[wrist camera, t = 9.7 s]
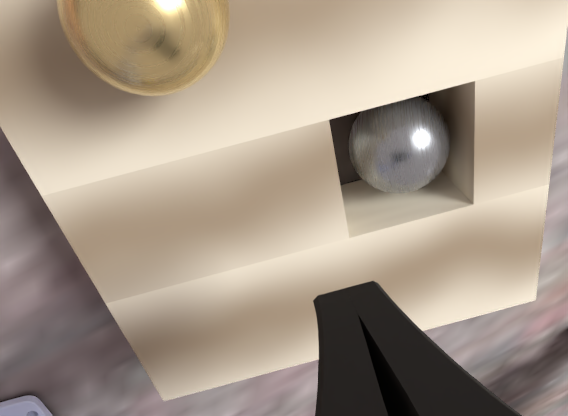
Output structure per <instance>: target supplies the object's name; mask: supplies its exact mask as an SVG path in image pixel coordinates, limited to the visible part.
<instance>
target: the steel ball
mask: <svg viewBox="0 0 568 416" xmlns="http://www.w3.org/2000/svg"><path fill="white" fill-rule="evenodd" d="M348 146H349V155H350V159H351V162H352V164H353V166H354V169H355V170H356V172H357V173H358V175H359V176H360V177H361V178H362V179H363V180H364V181H365V182H366V183H368V184H369V185H371V186H372V187H374V188H376V189H378V190H381V191H384V192H389V193H407V192H412V191H415V190H418V189H420V188H422V187H424V186H425V185H427V184H428V183H430V182H431V181H432V180H433V179H435V177H436V176H437V175H438V174H439V173H440V171H441V170H442V169H443V167H444V165H445V163H446V161H447V158H448V155H449V150H450V134H449V129H448V126H447V123H446V121H445V119H444V117H443V116H442V114H441V113H440V112H439V110H438V109H437V108H436V107H435V106H433V105H432V104H431V103H430V102H428V101H426V100H425V99H423V98H420V97H418V96H416V97H413V98H409V99H405V100H401V101H398V102H394V103H390V104H386V105H382V106H379V107H375V108H371V109H367V110H364V111H361V113H360V114H359V115H358V117H357V118H356V120H355V122H354V124H353V126H352V128H351V132H350V135H349V143H348Z"/></svg>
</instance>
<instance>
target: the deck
mask: <svg viewBox="0 0 568 416" xmlns="http://www.w3.org/2000/svg"><path fill="white" fill-rule="evenodd" d="M228 1H229V11H230V19H229V30H228V36H227V40H226V43H225V46H224V49H223V51H222V53H221V55H220V57H219V59H218V61H217V62H216V64H215V65H214V66H213V68H212V69H211V70H210V71H209V72H208V73H207V74H206V75H205V76H204V77H203V78H202V79H201V80H200V81H198V82H197V83H195V84H194V85H192V86H191V87H189V88H187V89H185V90H183V91H180V92H177V93H174V94H169V95H164V96H142V95H137V94H132V93H128V92H125V91H122V90H120V89H117V88H115V87H113V86H111V85H109V84H108V83H106V82H104V81H103V80H101V79H100V78H99V77H97V76H96V75H95V74H93V73H92V72H91V71H90V70H89V69H88V68H87V67H86V66H85V65H84V64H83V63H82V61H81V60H80V59H79V58H78V57H77V55H76V54H75V52H74V51H73V49H72V48H71V46H70V44H69V42H68V40H67V38H66V37H65V34H64V31H63V29H62V26H61V23H60V19H59V15H58V8H57V0H0V127H1V129H2V131H3V132H4V134H5V136H6V137H7V139H8V141H9V142H10V144H11V146H12V147H13V149H14V151H15V152H16V154H17V156H18V158H19V159H20V161H21V163H22V164H23V166H24V168H25V169H26V171H27V173H28V174H29V176H30V178H31V179H32V181H33V183H34V184H35V186H36V188H37V189H38V191H39V193H40V194H41V196H42V198H43V200H44V201H45V203H46V205H47V206H48V208H49V210H50V211H51V213H52V215H53V216H54V218H55V220H56V221H57V223H58V225H59V226H60V228H61V230H62V231H63V233H64V235H65V236H66V238H67V240H68V242H69V243H70V245H71V247H72V248H73V250H74V252H75V253H76V255H77V257H78V258H79V260H80V262H81V263H82V265H83V267H84V268H85V270H86V272H87V273H88V275H89V277H90V278H91V280H92V282H93V284H94V285H95V287H96V289H97V290H98V292H99V294H100V295H101V297H102V299H103V300H104V302H105V304H106V305H107V307H108V309H109V310H110V312H111V314H112V315H113V317H114V319H115V320H116V322H117V324H118V325H119V327H120V329H121V331H122V332H123V334H124V336H125V337H126V339H127V341H128V342H129V344H130V346H131V347H132V349H133V351H134V352H135V354H136V356H137V357H138V359H139V361H140V362H141V364H142V366H143V367H144V369H145V371H146V373H147V374H148V376H149V378H150V379H151V381H152V383H153V384H154V386H155V388H156V389H157V391H158V393H159V394H160V396H161V398H162V399H163V401H167V400H171V399H175V398H178V397H182V396H186V395H189V394H193V393H197V392H200V391H204V390H208V389H211V388H215V387H219V386H222V385H226V384H230V383H233V382H237V381H241V380H244V379H248V378H252V377H255V376H259V375H263V374H266V373H270V372H274V371H277V370H281V369H285V368H288V367H292V366H296V365H299V364H303V363H307V362H311V361H314V360H318V359H319V341H318V324H317V317H316V311H315V307H314V303H313V300H314V299H315V298H316V297H317V296H318V295H321V294H325V293H329V292H333V291H336V290H340V289H344V288H347V287H351V286H355V285H359V284H362V283H366V282H370V281H375V282H377V283H379V285H380V286H381V287H382V288H383V290H384V291H385V292H386V293H387V294H388V295H389V297H390V298H391V299H392V300H393V301H394V302H395V303H396V305H397V306H398V307H399V308H400V309H401V310H402V311H403V312H404V313H405V314H406V315H407V316H408V317H409V318H410V319H411V320H412V321H413V322H414V323H415V324H416V325H417V326H418V327H419V328H420V329H421V330H422V331H424V330H428V329H432V328H435V327H439V326H443V325H446V324H450V323H454V322H457V321H461V320H465V319H469V318H472V317H476V316H480V315H483V314H487V313H491V312H494V311H498V310H502V309H505V308H509V307H513V306H516V305H520V304H524V303H527V302H531V301H535V300H536V292H537V284H538V275H539V266H540V258H541V249H542V241H543V232H544V223H545V215H546V206H547V198H548V189H549V180H550V172H551V163H552V155H553V146H554V138H555V129H556V120H557V112H558V103H559V95H560V86H561V77H562V69H563V60H564V52H565V43H566V34H567V26H568V0H228ZM428 93H429V102H430V103H431V104H432V105H433V106H435V107H436V108H437V109H438V110H439V112H440V113H441V114H442V116H443V117H444V119H445V121H446V123H447V126H448V129H449V134H450V150H449V155H448V158H447V161H446V163H445V165H444V167H443V169H442V170H441V171H440V173H439V174H438V175H437V176H436V177H435V179H433V180H432V181H431V182H430V183H428V184H427V185H425V186H424V187H422V188H420V189H418V190H415V191H412V192H407V193H389V192H384V191H381V190H378V189H376V188H374V187H372V186H371V185H369V184H368V183H366V182H365V181H364V180H363V179H362V180H359V181H355V182H351V183H347V184H344V185H340V180H339V175H338V169H337V163H336V157H335V151H334V146H333V140H332V134H331V128H330V122H329V120H330V119H333V118H337V117H341V116H345V115H349V114H352V113H356V112H360V111H364V110H367V109H371V108H375V107H379V106H382V105H386V104H390V103H394V102H398V101H401V100H405V99H409V98H413V97H416V96H420V95H424V94H428Z"/></svg>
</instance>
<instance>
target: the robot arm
mask: <svg viewBox="0 0 568 416" xmlns="http://www.w3.org/2000/svg"><path fill="white" fill-rule="evenodd" d="M313 303H314V307H315V311H316V317H317V324H318V341H319V365H318V392H317V403H316V413H315V416H522V415H520V414H519V413H518V412H516V411H515V410H514V409H512V408H511V407H510V406H508V405H507V404H506V403H504V402H503V401H502V400H501V399H499V398H498V397H497V396H496V395H494V394H493V393H492V392H491V391H489V390H488V389H487V388H486V387H484V386H483V385H482V384H481V383H480V382H478V381H477V380H476V379H475V378H474V377H472V376H471V375H470V374H469V373H468V372H467V371H465V370H464V369H463V368H462V367H461V366H460V365H458V364H457V363H456V362H455V361H454V360H453V359H452V358H451V357H449V356H448V355H447V354H446V353H445V352H444V351H443V350H442V349H441V348H440V347H439V346H438V345H437V344H435V343H434V342H433V341H432V340H431V339H430V338H429V337H428V336H427V335H426V334H425V333H424V332H423V331H422V330H421V329H420V328H419V327H418V326H417V325H416V324H415V323H414V322H413V321H412V320H411V319H410V318H409V317H408V316H407V315H406V314H405V313H404V312H403V311H402V310H401V309H400V308H399V307H398V306H397V305H396V303H395V302H394V301H393V300H392V299H391V298H390V297H389V295H388V294H387V293H386V292H385V291H384V290H383V288H382V287H381V286H380V285H379V283H377V282H375V281H370V282H366V283H362V284H359V285H355V286H351V287H347V288H344V289H340V290H336V291H333V292H329V293H325V294H321V295H318V296H317V297H316V298H315V299H314V300H313ZM0 416H53V415H52V414H51V413H50V411H49V410H48V409H47V408H46V407H45V405H44V404H43V403H42V402H41V401H40V399H38V398H37V397H35V396H31V395H27V396H22V397H19V398H15V399H11V400H8V401H4V402H0Z"/></svg>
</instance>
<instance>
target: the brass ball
mask: <svg viewBox="0 0 568 416" xmlns="http://www.w3.org/2000/svg"><path fill="white" fill-rule="evenodd" d="M57 8H58V15H59V19H60V23H61V26H62V29H63V31H64V34H65V37H66V38H67V40H68V42H69V44H70V46H71V48H72V49H73V51H74V52H75V54H76V55H77V57H78V58H79V59H80V60H81V61H82V63H83V64H84V65H85V66H86V67H87V68H88V69H89V70H90V71H91V72H92V73H93V74H95V75H96V76H97V77H99V78H100V79H101V80H103V81H104V82H106V83H108V84H109V85H111V86H113V87H115V88H117V89H120V90H122V91H125V92H128V93H132V94H137V95H142V96H164V95H169V94H174V93H177V92H180V91H183V90H185V89H187V88H189V87H191V86H192V85H194V84H195V83H197V82H198V81H200V80H201V79H202V78H203V77H204V76H205V75H206V74H207V73H208V72H209V71H210V70H211V69H212V68H213V66H214V65H215V64H216V62H217V61H218V59H219V57H220V55H221V53H222V51H223V49H224V46H225V43H226V40H227V36H228V30H229V19H230V11H229V1H228V0H57Z"/></svg>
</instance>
